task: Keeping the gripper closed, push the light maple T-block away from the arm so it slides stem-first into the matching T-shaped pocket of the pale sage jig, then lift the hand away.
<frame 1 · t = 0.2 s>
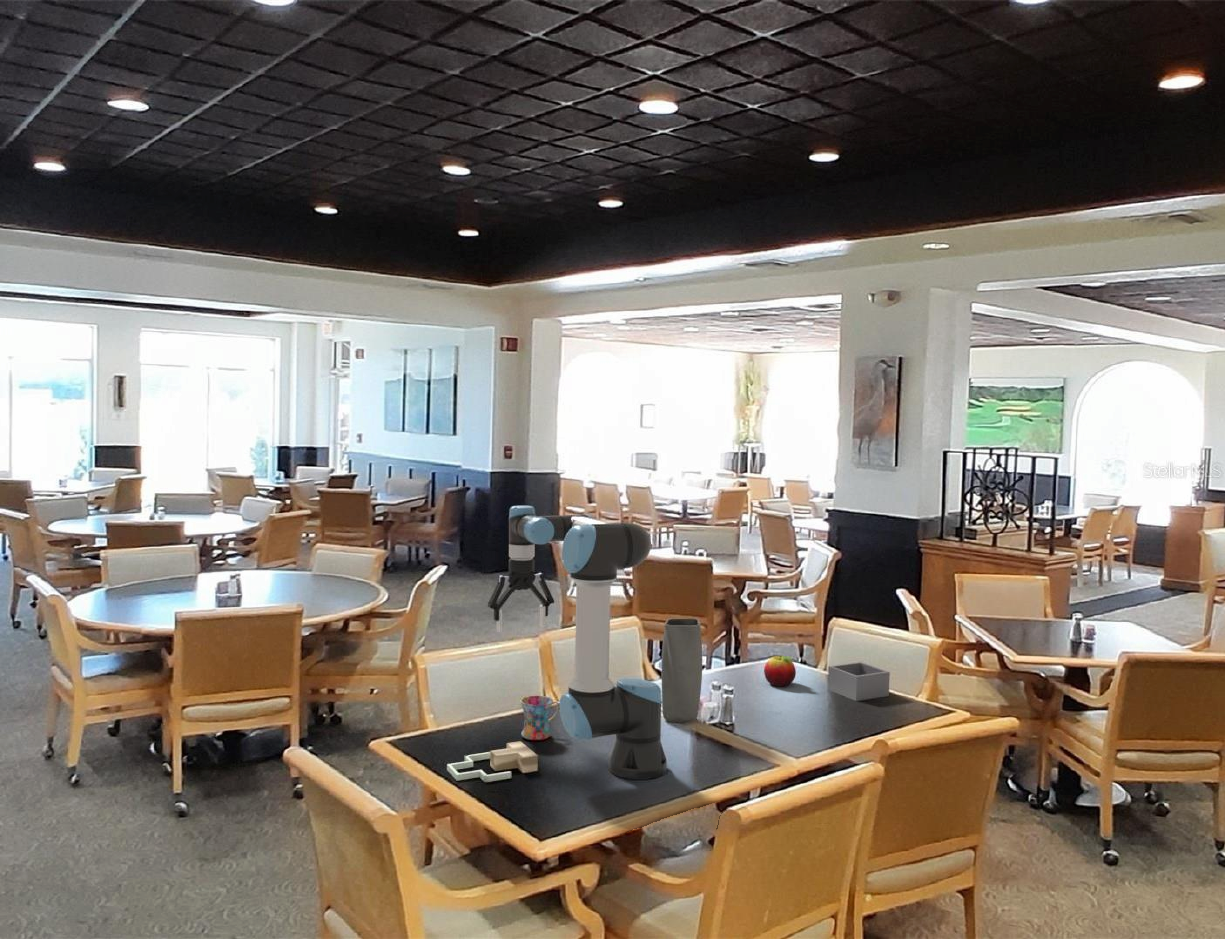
hand: (521, 629, 291), 28 cm above the table, fingers open, 13 cm apart
t block: (521, 764, 258), on the table
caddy: (858, 692, 328), on the table
vase: (680, 720, 297), on the table
fruit: (779, 685, 337), on the table
jig: (489, 769, 254), on the table
mug: (540, 737, 280), on the table
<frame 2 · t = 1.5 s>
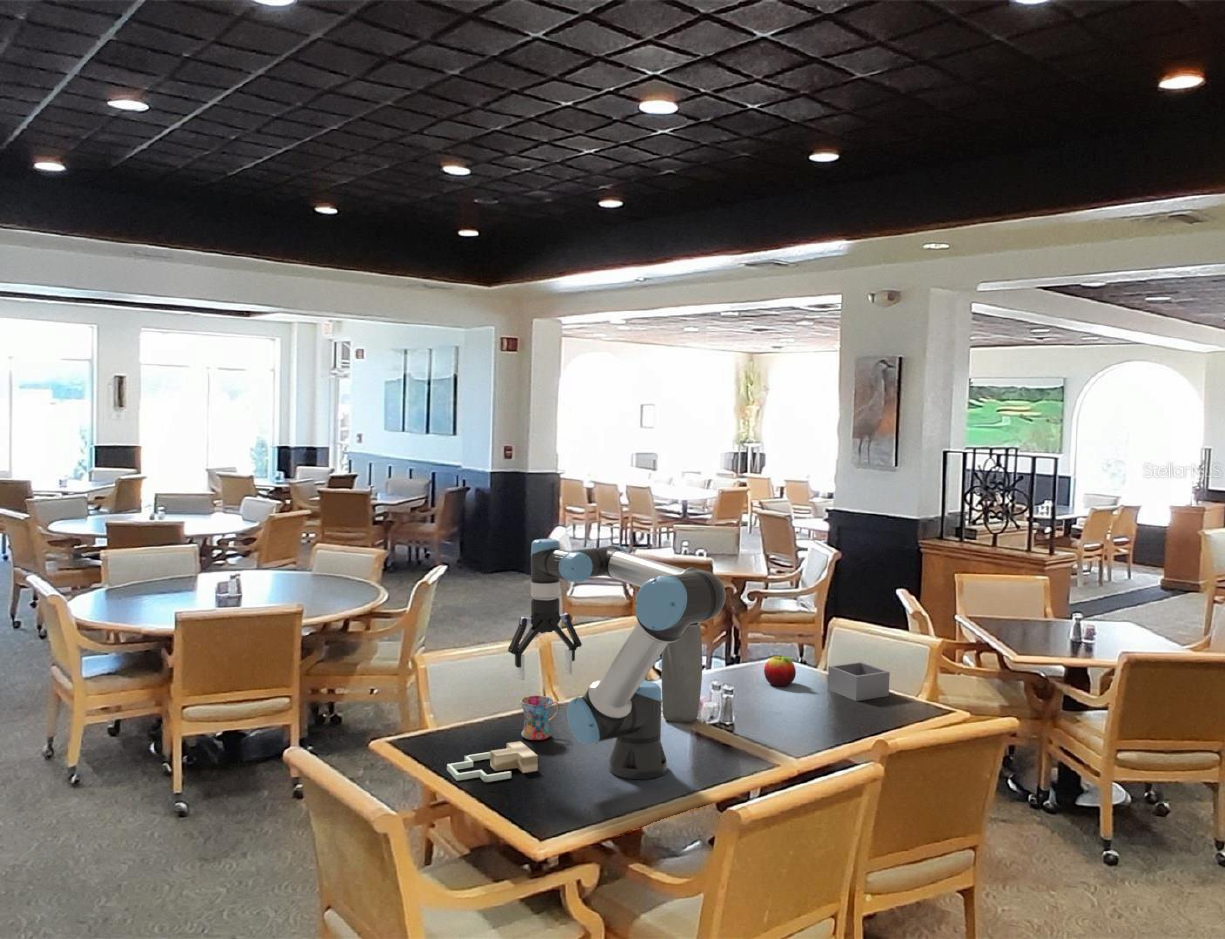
hand: (545, 676, 263), 22 cm above the table, fingers open, 13 cm apart
nothing on the table moved.
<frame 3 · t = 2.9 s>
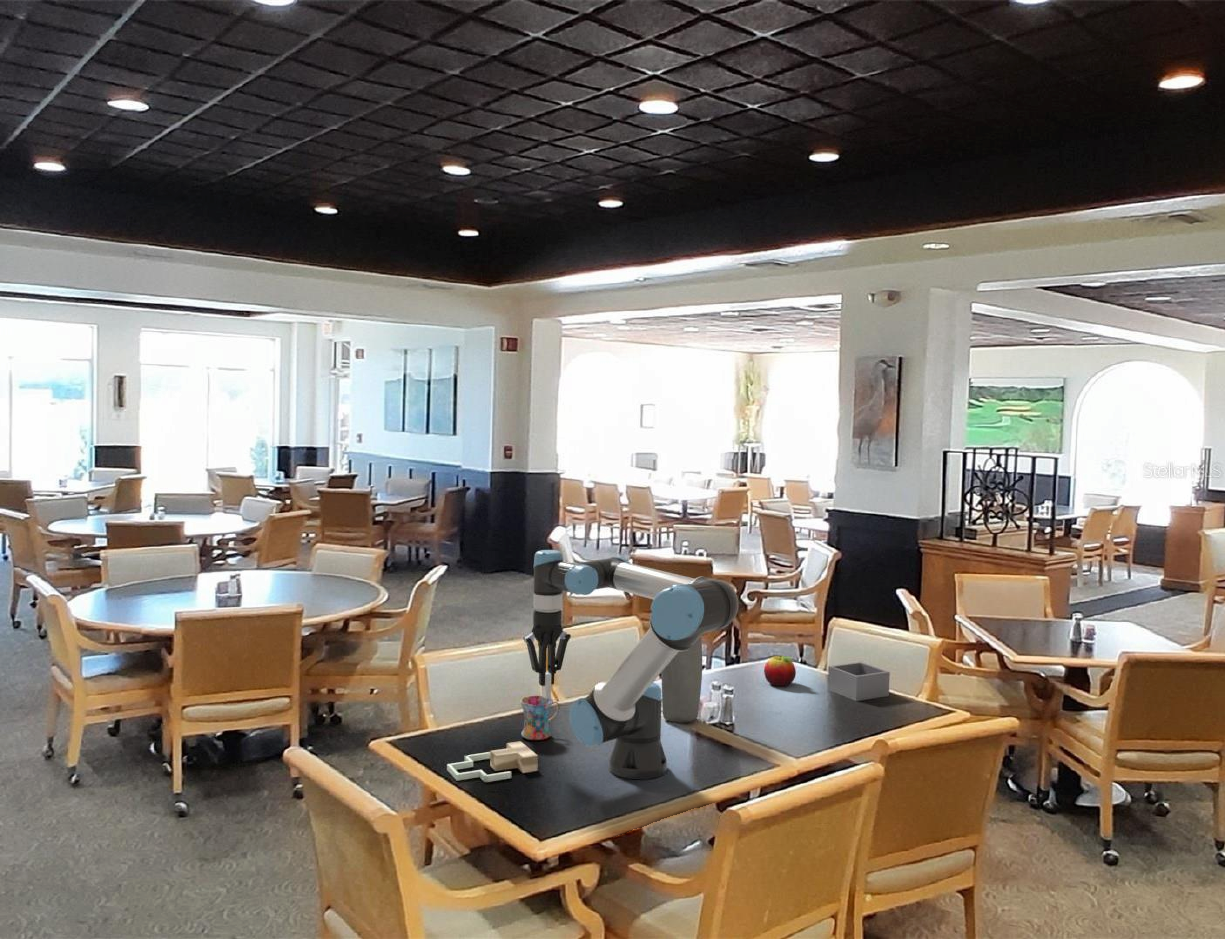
hand: (546, 697, 261), 17 cm above the table, fingers closed
nothing on the table moved.
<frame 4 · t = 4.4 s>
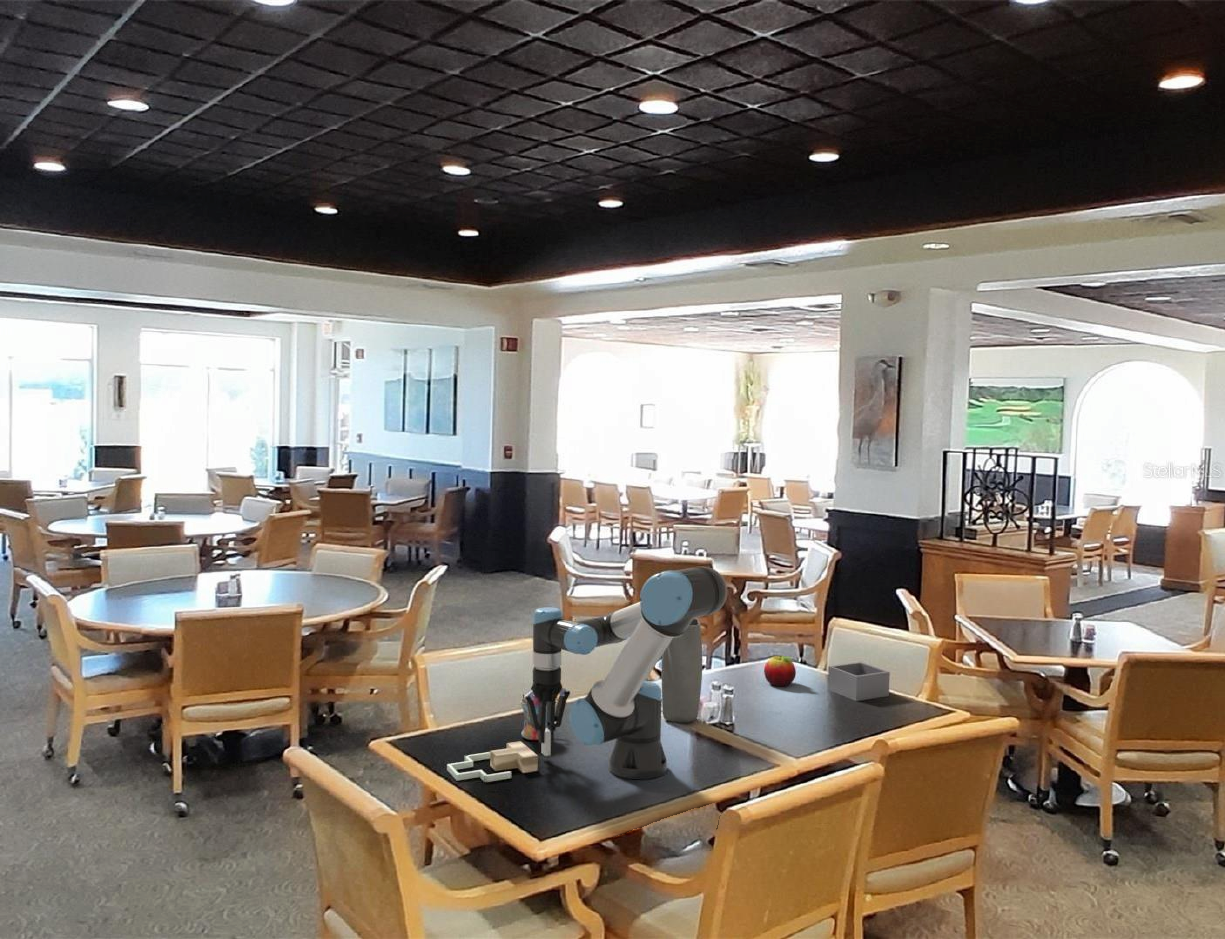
hand: (545, 754, 261), 2 cm above the table, fingers closed
nothing on the table moved.
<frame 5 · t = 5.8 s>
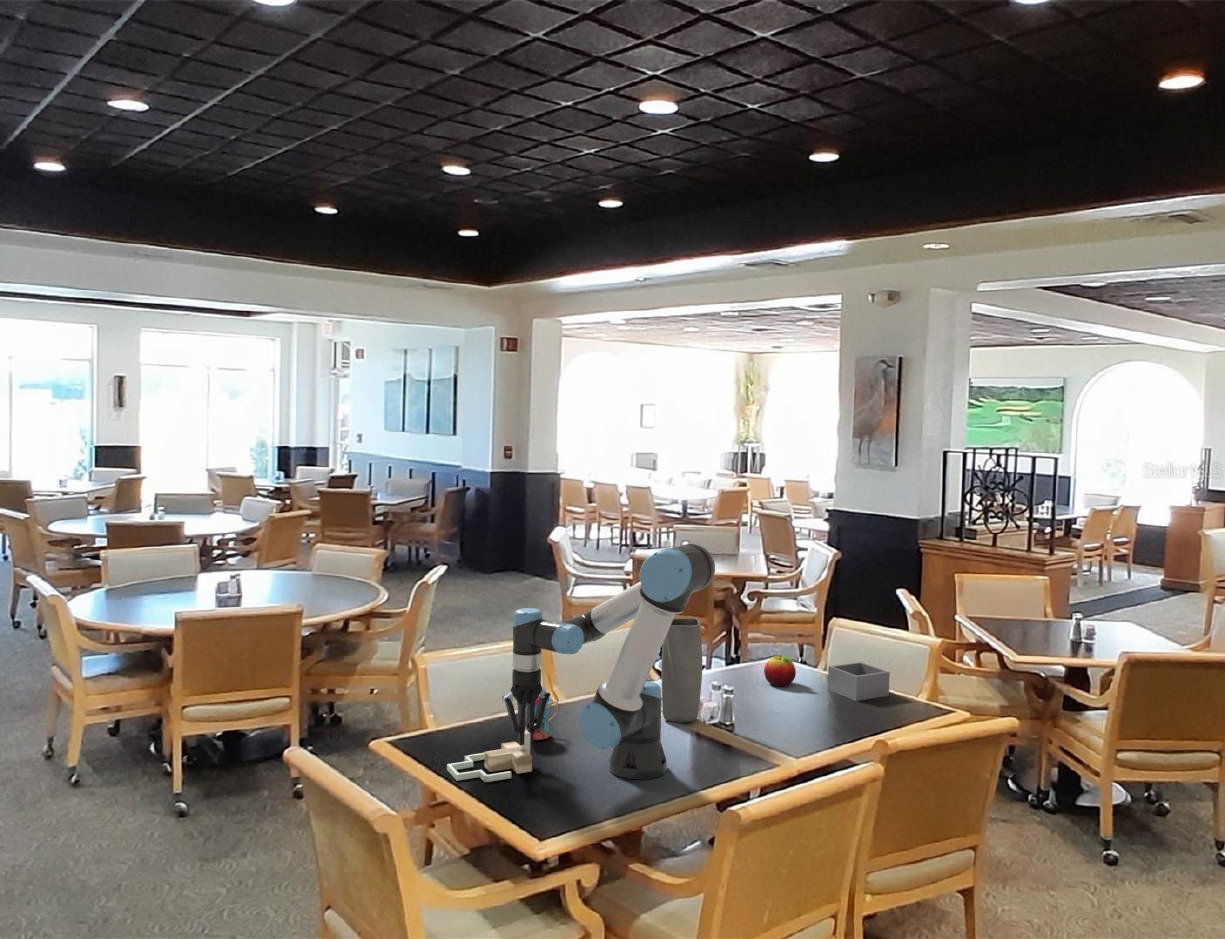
hand: (525, 756, 259), 2 cm above the table, fingers closed
t block: (516, 764, 258), on the table, touching gripper
everything else where it was.
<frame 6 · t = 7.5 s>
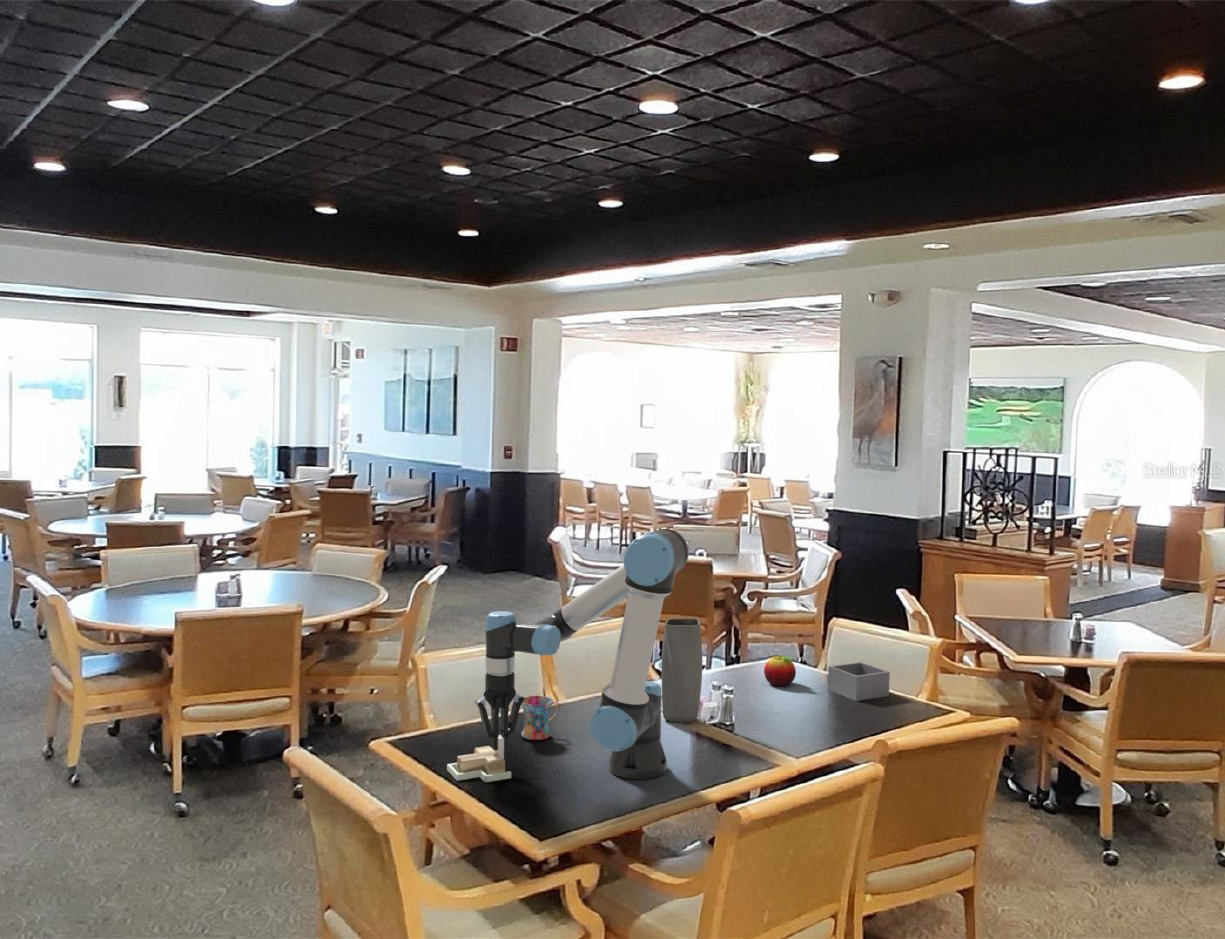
hand: (499, 761, 255), 2 cm above the table, fingers closed
t block: (489, 769, 254), on the table, touching gripper
everything else where it was.
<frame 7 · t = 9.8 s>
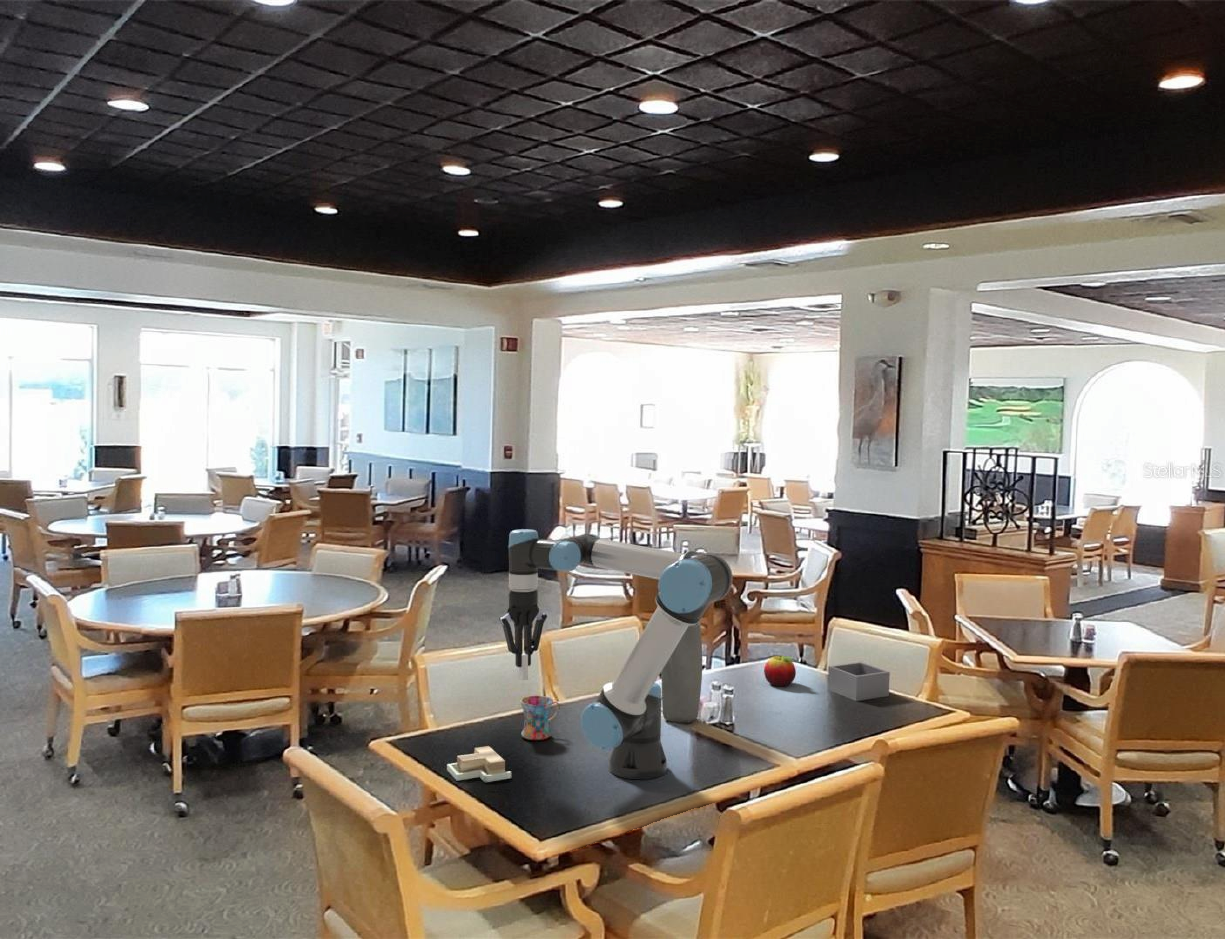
hand: (523, 678, 257), 23 cm above the table, fingers closed
t block: (489, 769, 254), on the table
everything else where it was.
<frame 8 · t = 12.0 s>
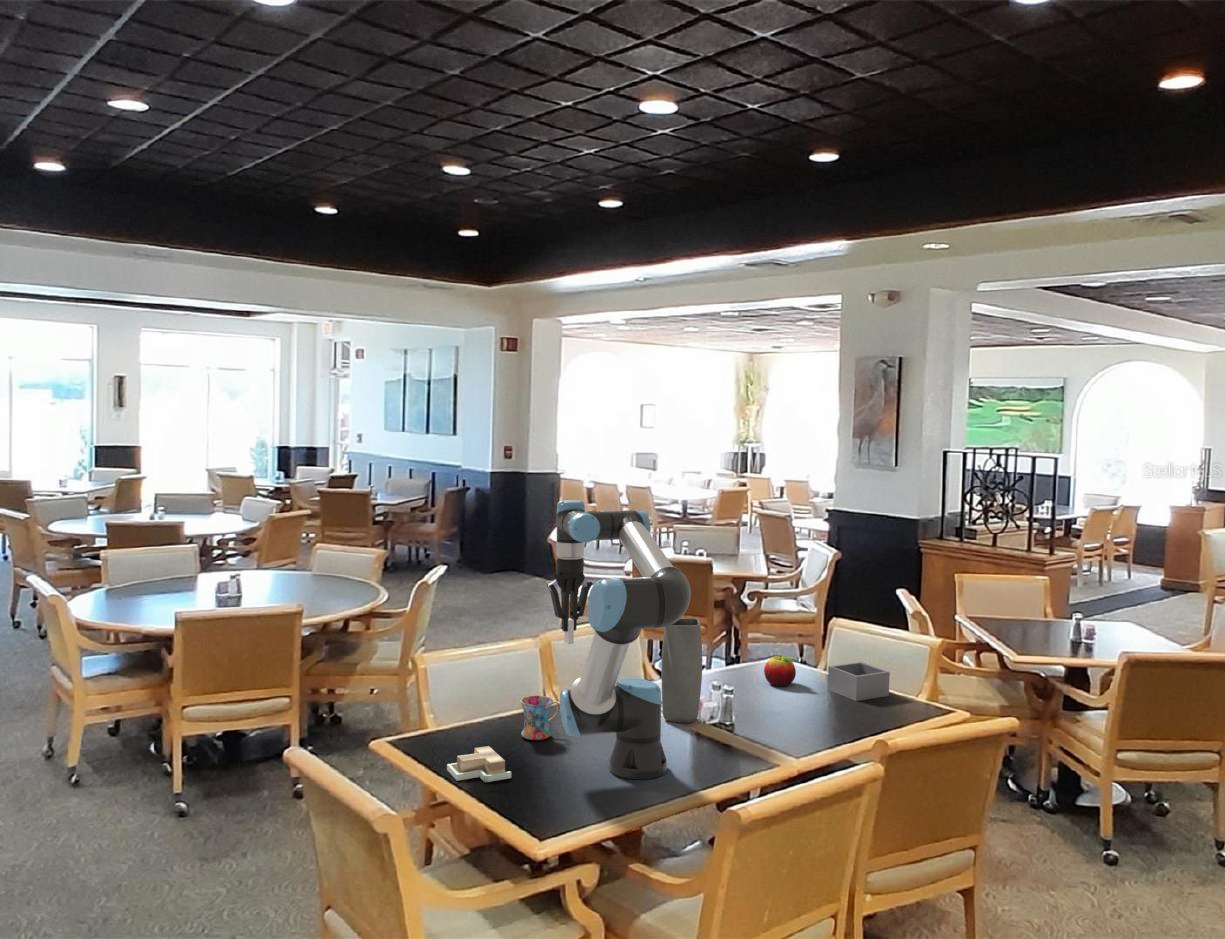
hand: (568, 642, 269), 29 cm above the table, fingers closed
nothing on the table moved.
at the end: t block 0.2 cm from the target spot, on the table; t block tilted 1° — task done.
